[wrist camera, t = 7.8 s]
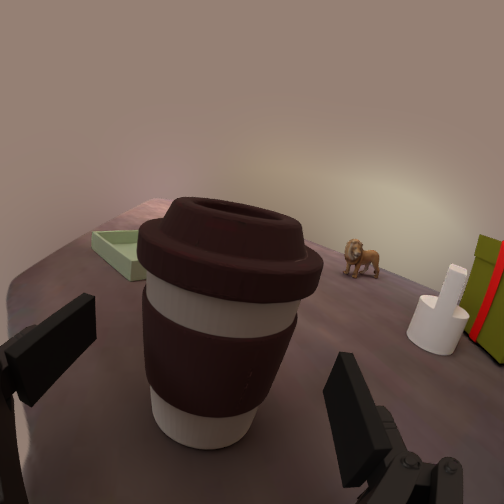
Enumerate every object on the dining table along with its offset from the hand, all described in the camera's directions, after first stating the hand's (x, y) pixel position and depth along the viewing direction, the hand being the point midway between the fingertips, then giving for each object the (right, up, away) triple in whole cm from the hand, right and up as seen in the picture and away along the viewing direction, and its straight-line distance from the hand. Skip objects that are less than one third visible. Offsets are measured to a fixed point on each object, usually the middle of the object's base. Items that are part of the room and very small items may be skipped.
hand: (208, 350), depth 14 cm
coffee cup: (-2, -7, +5) cm, 9 cm away
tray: (-16, +4, +36) cm, 39 cm away
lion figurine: (+28, -1, +54) cm, 61 cm away
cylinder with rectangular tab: (+30, -9, +24) cm, 39 cm away
